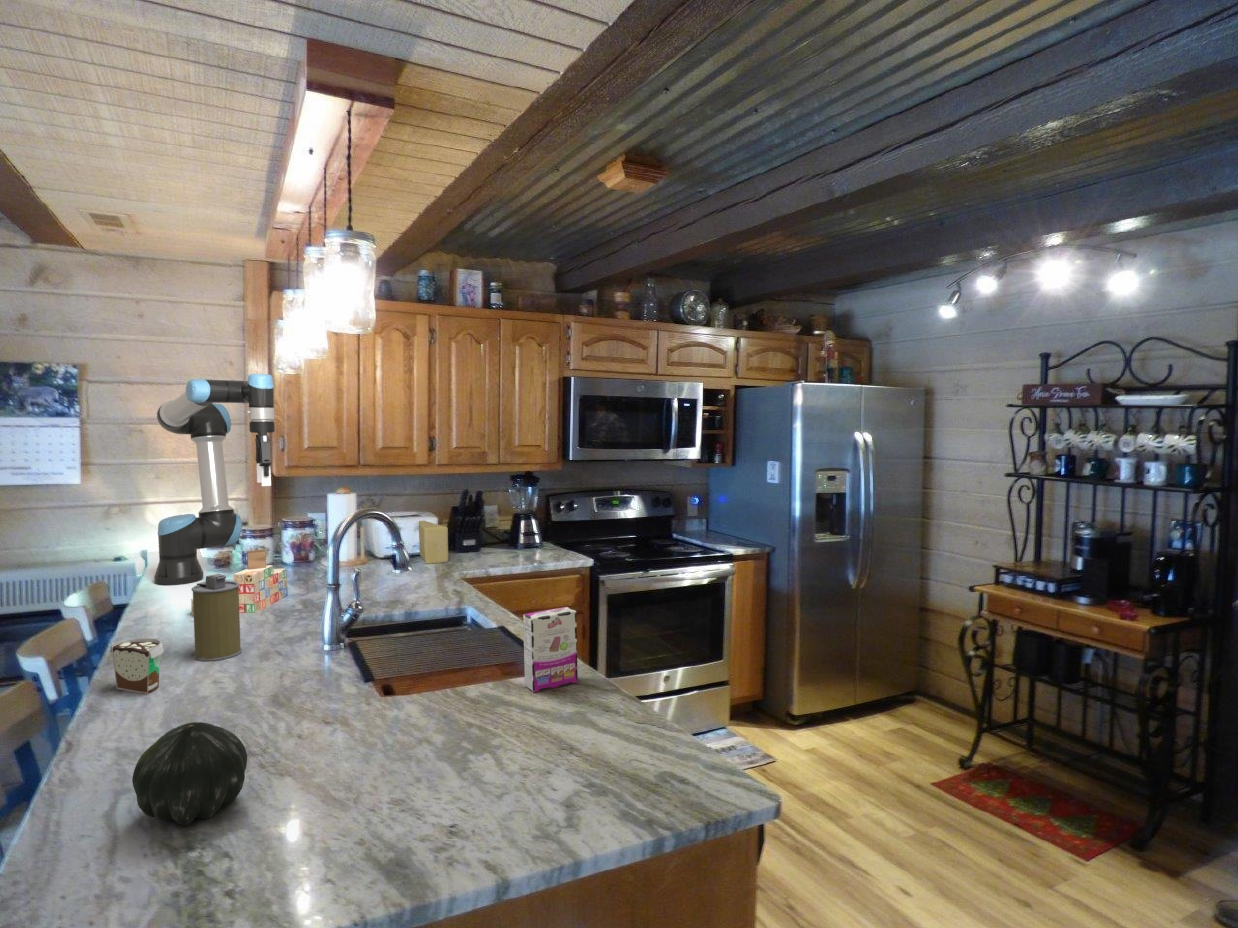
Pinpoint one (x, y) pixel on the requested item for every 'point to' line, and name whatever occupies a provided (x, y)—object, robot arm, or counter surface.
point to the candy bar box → (550, 648)
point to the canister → (216, 619)
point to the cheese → (433, 542)
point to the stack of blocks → (260, 588)
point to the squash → (190, 773)
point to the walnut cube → (256, 559)
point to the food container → (137, 664)
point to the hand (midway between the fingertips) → (263, 484)
